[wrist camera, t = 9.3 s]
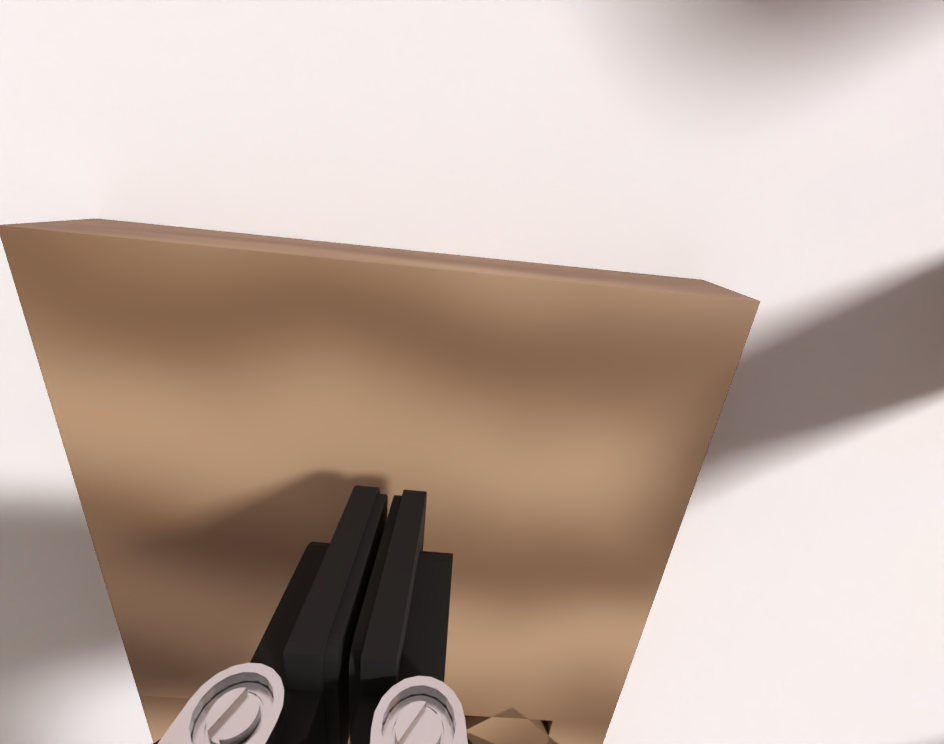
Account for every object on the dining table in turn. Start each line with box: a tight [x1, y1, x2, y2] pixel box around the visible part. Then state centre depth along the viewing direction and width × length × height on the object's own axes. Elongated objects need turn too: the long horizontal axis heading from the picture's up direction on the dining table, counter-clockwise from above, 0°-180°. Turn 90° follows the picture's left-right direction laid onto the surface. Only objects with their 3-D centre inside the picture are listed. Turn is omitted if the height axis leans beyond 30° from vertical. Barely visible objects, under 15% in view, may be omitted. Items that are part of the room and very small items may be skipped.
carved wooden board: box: [0, 219, 760, 744], centre depth 16 cm, size 30×16×2 cm, turn 174°
